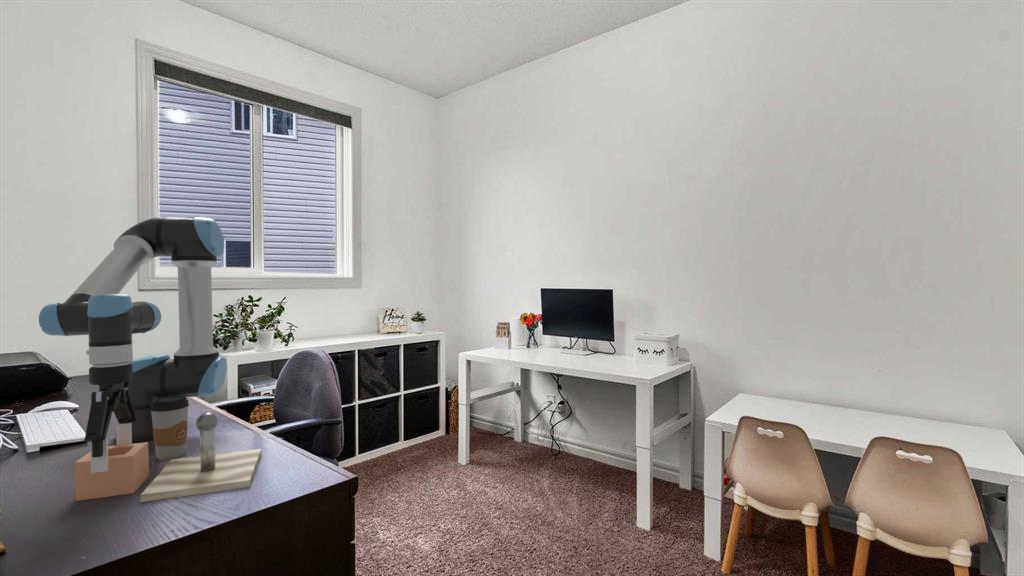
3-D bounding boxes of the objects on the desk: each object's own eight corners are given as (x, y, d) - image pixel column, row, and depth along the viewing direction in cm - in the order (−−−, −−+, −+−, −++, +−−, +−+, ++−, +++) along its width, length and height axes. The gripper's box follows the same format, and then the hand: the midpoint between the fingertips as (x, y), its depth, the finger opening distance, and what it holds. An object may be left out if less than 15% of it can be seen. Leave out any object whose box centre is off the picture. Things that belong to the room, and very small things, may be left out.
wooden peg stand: (171, 465, 124) (169, 406, 123) (261, 454, 131) (260, 398, 130) (140, 502, 103) (139, 431, 103) (249, 486, 110) (248, 420, 110)
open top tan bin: (96, 482, 113) (95, 447, 113) (149, 476, 117) (148, 442, 117) (75, 500, 104) (74, 462, 104) (133, 493, 108) (132, 456, 107)
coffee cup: (170, 462, 125) (169, 403, 125) (143, 460, 127) (141, 402, 127) (197, 451, 134) (196, 395, 133) (171, 449, 135) (170, 394, 135)
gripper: (112, 358, 120) (114, 446, 120) (61, 374, 97) (63, 484, 97) (149, 356, 123) (151, 442, 123) (109, 371, 100) (110, 478, 100)
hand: (112, 461), depth 110 cm, fingers open, 13 cm apart
